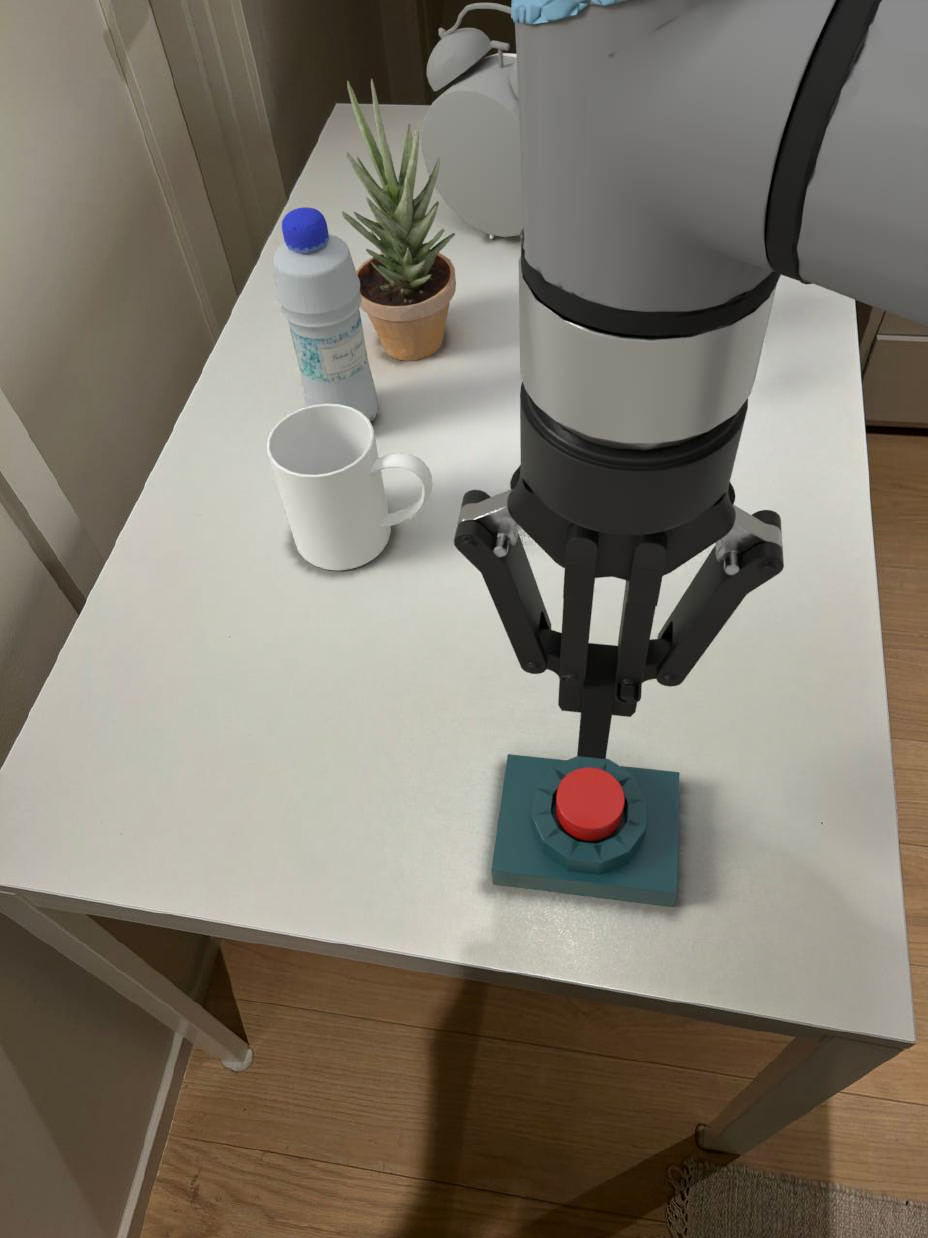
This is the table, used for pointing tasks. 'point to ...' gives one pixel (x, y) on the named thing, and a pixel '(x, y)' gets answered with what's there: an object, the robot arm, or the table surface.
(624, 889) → the teal button base
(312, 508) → the mug
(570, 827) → the button
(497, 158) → the alarm clock
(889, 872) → the table surface
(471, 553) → the robot arm
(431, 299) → the potted plant
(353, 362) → the bottle
